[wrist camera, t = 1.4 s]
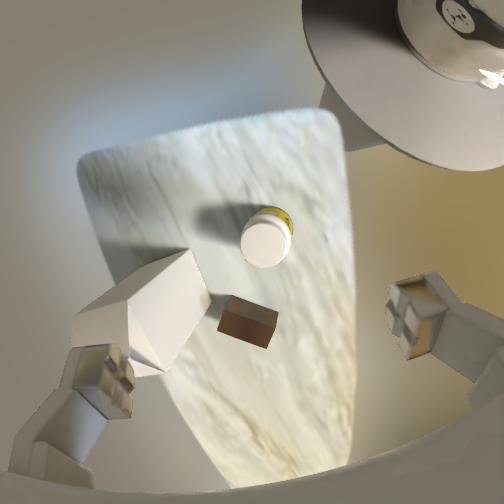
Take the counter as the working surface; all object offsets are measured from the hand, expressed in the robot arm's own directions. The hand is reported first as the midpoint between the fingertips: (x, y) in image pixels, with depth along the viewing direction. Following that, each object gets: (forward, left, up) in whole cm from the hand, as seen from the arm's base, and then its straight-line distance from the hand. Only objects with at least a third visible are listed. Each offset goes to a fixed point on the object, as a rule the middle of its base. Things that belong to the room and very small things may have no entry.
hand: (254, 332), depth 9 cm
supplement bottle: (+3, 0, -27) cm, 27 cm away
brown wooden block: (+12, +7, -27) cm, 30 cm away
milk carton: (+17, -2, -27) cm, 32 cm away
